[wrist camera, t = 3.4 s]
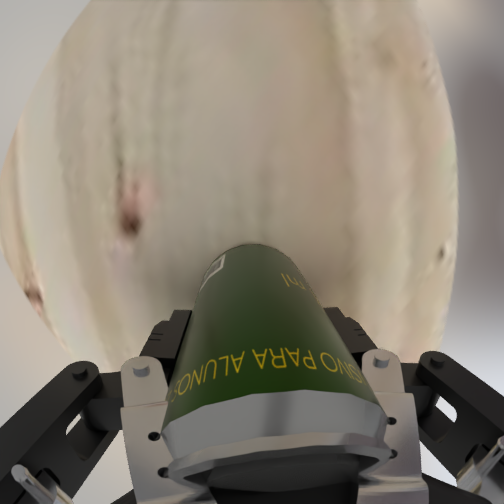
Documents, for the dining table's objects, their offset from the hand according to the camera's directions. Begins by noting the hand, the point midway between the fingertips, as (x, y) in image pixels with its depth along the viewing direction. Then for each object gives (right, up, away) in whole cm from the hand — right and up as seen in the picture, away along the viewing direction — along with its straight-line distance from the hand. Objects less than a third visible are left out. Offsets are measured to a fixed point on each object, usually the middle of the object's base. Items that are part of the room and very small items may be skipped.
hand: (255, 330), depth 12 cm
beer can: (0, +1, +4) cm, 4 cm away
